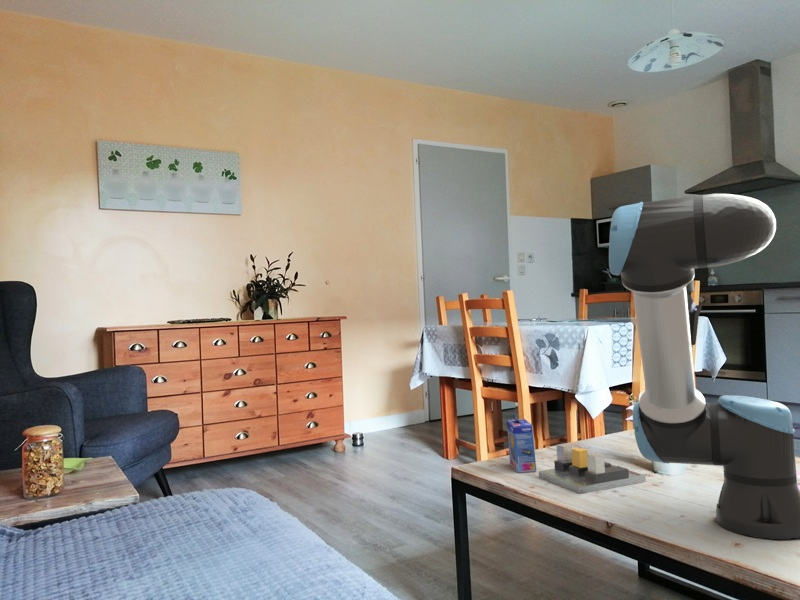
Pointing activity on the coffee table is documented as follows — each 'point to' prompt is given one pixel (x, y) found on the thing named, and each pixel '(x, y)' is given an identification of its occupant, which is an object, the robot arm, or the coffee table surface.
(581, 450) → the block
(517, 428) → the ink cartridge box
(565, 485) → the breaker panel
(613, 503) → the coffee table surface
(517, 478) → the coffee table surface
